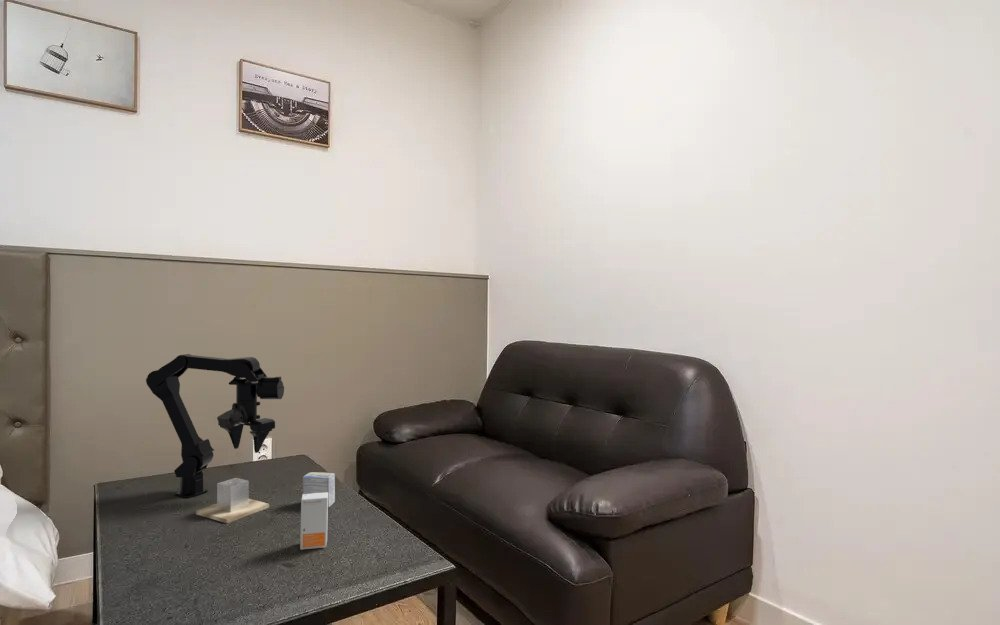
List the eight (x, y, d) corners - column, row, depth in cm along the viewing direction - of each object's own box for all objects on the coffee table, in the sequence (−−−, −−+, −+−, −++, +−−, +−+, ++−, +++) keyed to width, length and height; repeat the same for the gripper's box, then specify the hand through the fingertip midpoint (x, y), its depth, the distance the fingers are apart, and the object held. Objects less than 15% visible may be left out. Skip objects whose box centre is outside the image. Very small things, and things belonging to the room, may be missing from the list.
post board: (195, 514, 147) (196, 495, 147) (238, 499, 159) (238, 482, 159) (227, 523, 141) (227, 504, 141) (268, 507, 153) (269, 489, 153)
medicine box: (335, 502, 158) (335, 472, 157) (328, 508, 153) (329, 477, 153) (309, 501, 158) (309, 471, 158) (302, 506, 154) (302, 476, 154)
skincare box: (299, 550, 126) (300, 499, 126) (301, 543, 130) (301, 493, 130) (327, 548, 128) (327, 497, 128) (327, 540, 132) (328, 491, 132)
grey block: (217, 508, 149) (217, 483, 149) (235, 502, 154) (235, 477, 154) (230, 512, 146) (230, 486, 146) (248, 505, 151) (248, 480, 151)
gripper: (201, 400, 161) (201, 452, 161) (244, 406, 152) (243, 461, 152) (235, 395, 171) (235, 444, 171) (276, 400, 162) (276, 452, 162)
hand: (246, 450), depth 164 cm, fingers open, 9 cm apart
